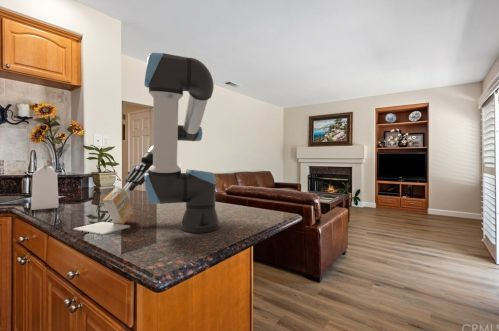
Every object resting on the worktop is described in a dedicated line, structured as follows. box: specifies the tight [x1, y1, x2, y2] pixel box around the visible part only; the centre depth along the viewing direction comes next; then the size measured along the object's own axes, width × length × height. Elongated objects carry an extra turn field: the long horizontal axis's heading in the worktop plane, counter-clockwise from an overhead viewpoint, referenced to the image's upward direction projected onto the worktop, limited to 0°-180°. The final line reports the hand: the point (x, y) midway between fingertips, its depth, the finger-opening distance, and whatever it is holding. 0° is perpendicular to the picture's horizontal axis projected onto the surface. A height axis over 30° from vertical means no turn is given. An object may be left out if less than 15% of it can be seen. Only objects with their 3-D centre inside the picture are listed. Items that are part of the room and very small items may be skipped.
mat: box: [72, 221, 131, 236], centre depth 98 cm, size 16×12×1 cm
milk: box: [30, 159, 59, 211], centre depth 140 cm, size 12×12×26 cm
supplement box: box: [102, 187, 135, 225], centre depth 105 cm, size 8×5×13 cm
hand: (122, 195), depth 108 cm, fingers closed
